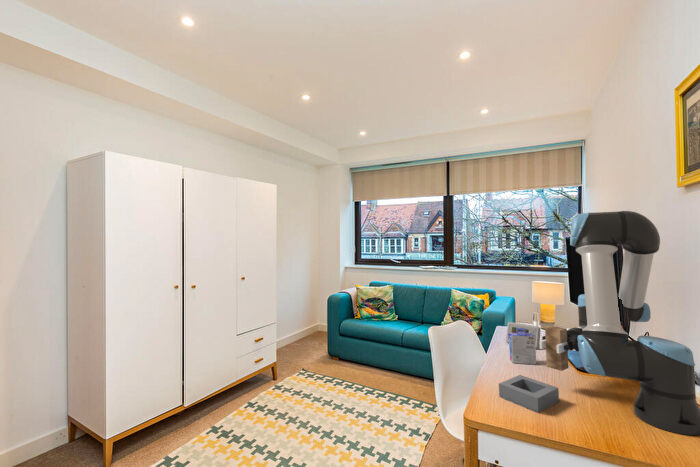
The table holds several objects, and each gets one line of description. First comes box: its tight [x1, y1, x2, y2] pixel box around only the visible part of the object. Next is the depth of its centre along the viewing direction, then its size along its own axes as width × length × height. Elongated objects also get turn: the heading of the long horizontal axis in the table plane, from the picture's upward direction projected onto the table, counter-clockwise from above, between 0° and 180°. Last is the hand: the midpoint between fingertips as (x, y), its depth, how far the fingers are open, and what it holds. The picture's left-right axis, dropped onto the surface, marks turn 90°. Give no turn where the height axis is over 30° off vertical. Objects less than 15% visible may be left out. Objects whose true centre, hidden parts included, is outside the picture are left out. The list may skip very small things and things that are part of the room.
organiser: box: [498, 374, 560, 414], centre depth 109 cm, size 13×13×4 cm
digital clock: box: [505, 321, 541, 350], centre depth 166 cm, size 16×9×11 cm, turn 29°
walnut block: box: [544, 325, 569, 372], centre depth 117 cm, size 5×5×14 cm
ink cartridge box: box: [508, 328, 537, 365], centre depth 143 cm, size 10×6×14 cm, turn 78°
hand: (549, 347), depth 114 cm, fingers closed on walnut block, 5 cm apart
